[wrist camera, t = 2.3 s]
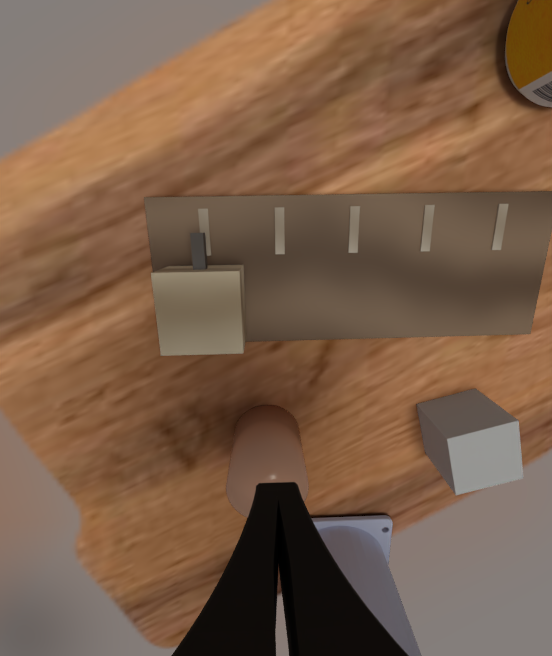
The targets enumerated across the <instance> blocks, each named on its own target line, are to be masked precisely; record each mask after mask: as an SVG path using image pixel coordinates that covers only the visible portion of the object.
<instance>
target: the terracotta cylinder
mask: <svg viewBox="0 0 552 656" xmlns="http://www.w3.org/2000/svg"><path fill="white" fill-rule="evenodd" d="M276 482H295V483H296V484H298V487H299V490H300V493H301V496H302V499H303V501H305V500H306V497H307V494H308V488H309V486H308V478H307V472H306V466H305V461H304V455H303V449H302V443H301V437H300V431H299V427H298V424H297V421H296V420H295V418H294V417H293V416H292V415H291V414H290V413H289V412H288V411H287V410H285V409H283V408H281V407H278V406H273V405H261V406H257V407H254V408H252V409H250V410H248V411H247V412H245V413H244V414H243V415H242V416H241V417H240V419H239V420H238V422H237V424H236V427H235V432H234V439H233V445H232V452H231V459H230V465H229V472H228V478H227V485H226V491H227V496H228V499H229V501H230V503H231V505H232V506H233V507H234V508H235V509H236V510H237V511H238V512H239V513H240V514H242V515H243V516H245V517H248V516H249V513H250V510H251V507H252V503H253V500H254V495H255V491H256V486H257V485H258V484H259V483H276Z"/></svg>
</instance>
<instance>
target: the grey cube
mask: <svg viewBox="0 0 552 656" xmlns="http://www.w3.org/2000/svg"><path fill="white" fill-rule="evenodd" d="M416 405H417V410H418V416H419V421H420V427H421V432H422V438H423V443H424V449H425V453H426V455H427V456H428V457H429V459H430V460H431V461H432V463H433V464H434V466H435V467H436V468H437V470H438V471H439V473H440V474H441V475H442V477H443V478H444V479H445V481H446V482H447V484H448V485H449V486H450V488H451V489H452V490H453V492H454V493H455V495H459V494H463V493H467V492H471V491H475V490H479V489H483V488H487V487H491V486H495V485H499V484H502V483H506V482H510V481H514V480H518V479H522V478H523V468H522V456H521V444H520V433H519V421H518V420H517V419H516V418H514V417H513V416H512V415H510V414H509V413H508V412H506V411H505V410H504V409H502V408H501V407H500V406H498V405H497V404H496V403H494V402H493V401H492V400H490V399H489V398H488V397H486V396H485V395H484V394H482V393H481V392H480V391H478V390H477V389H476V388H475V389H471V390H467V391H464V392H460V393H456V394H452V395H449V396H445V397H441V398H437V399H434V400H430V401H426V402H422V403H418V404H416Z"/></svg>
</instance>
